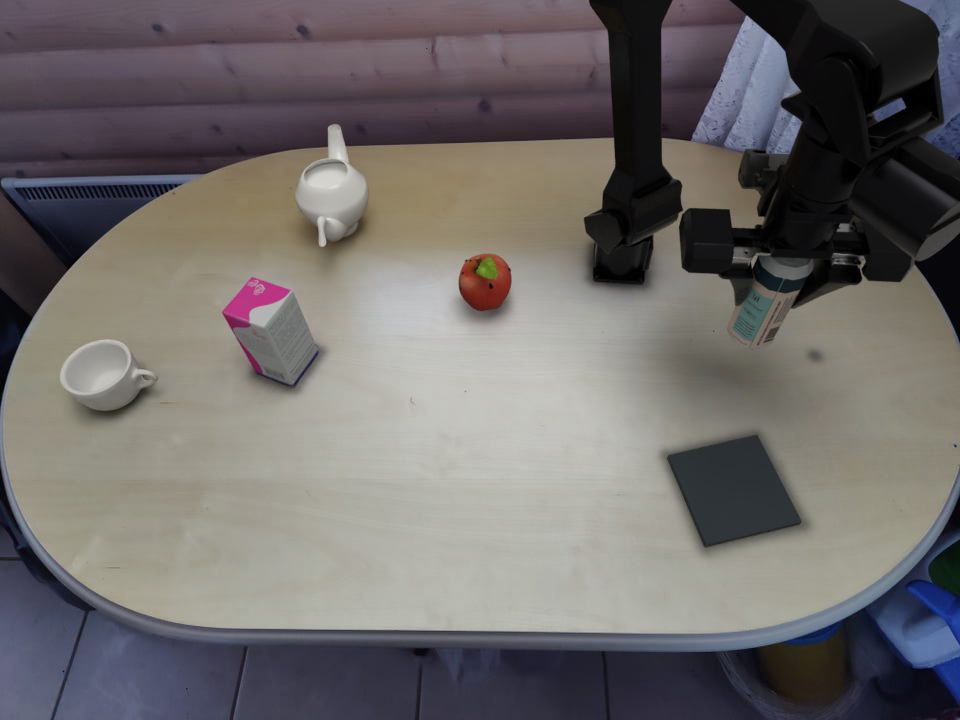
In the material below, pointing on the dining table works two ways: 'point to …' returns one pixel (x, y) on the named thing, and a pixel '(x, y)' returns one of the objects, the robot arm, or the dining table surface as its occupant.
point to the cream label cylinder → (768, 300)
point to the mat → (733, 490)
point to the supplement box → (271, 331)
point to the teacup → (104, 375)
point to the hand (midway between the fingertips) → (763, 303)
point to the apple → (485, 281)
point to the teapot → (332, 191)
